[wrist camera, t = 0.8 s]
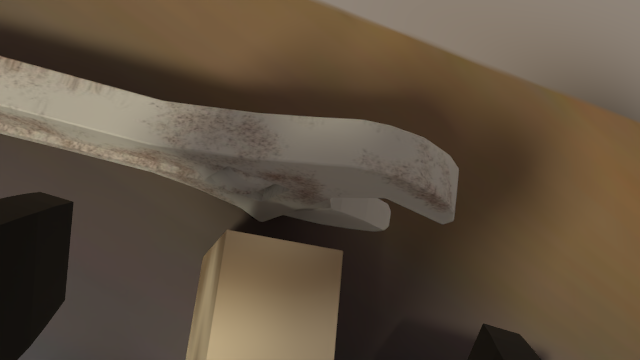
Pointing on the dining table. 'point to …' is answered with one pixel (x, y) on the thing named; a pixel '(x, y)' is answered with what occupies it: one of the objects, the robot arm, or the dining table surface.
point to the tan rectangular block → (266, 300)
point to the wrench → (237, 150)
